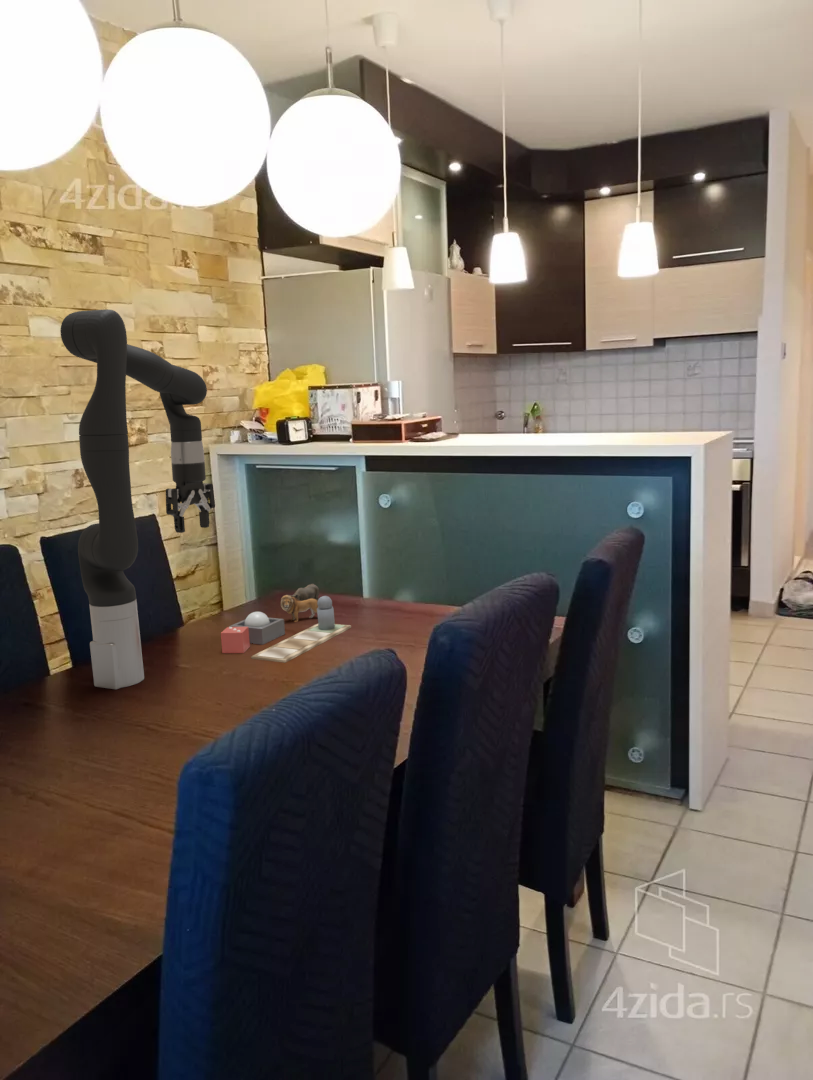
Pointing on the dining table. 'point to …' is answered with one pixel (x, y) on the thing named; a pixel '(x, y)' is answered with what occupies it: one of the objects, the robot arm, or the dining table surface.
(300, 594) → the rhino figurine
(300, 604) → the lion figurine
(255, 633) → the dome collar
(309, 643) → the board
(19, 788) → the dining table surface
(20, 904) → the dining table surface
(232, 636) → the die
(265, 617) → the dome
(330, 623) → the pawn
